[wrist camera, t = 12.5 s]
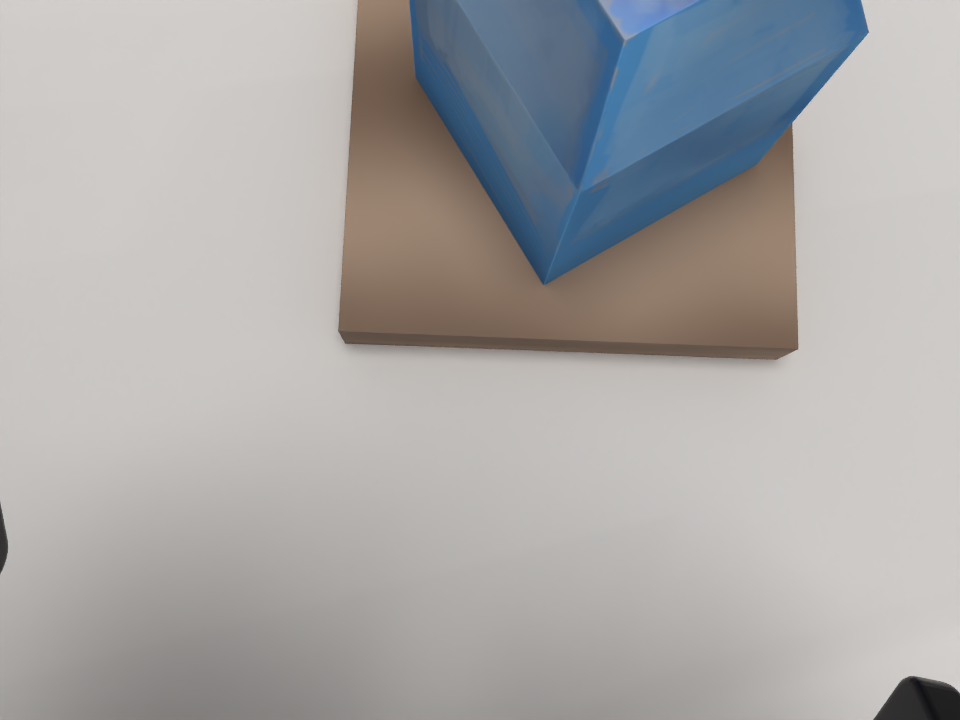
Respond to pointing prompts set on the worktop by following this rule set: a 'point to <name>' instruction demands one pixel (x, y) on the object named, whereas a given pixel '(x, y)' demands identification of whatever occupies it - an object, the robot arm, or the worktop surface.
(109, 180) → the worktop surface
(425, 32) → the perfume bottle
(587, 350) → the walnut block
